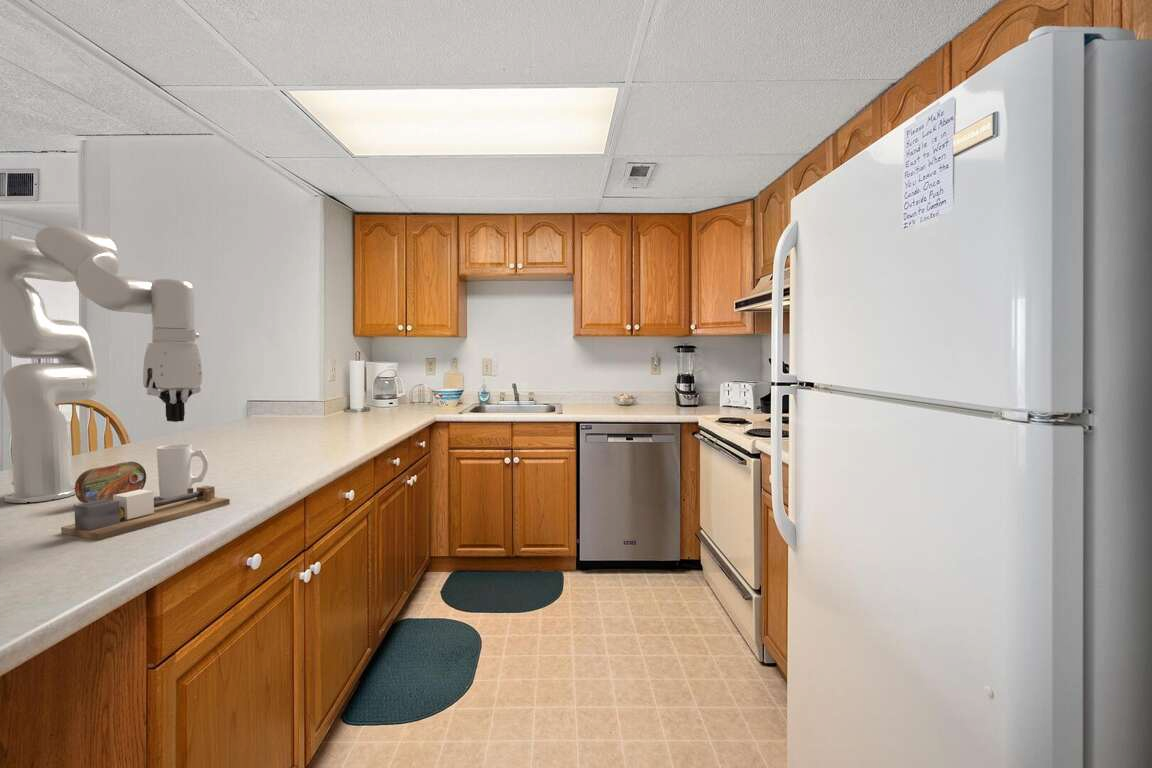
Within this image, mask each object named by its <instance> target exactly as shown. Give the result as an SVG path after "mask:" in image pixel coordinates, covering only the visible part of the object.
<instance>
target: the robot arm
mask: <svg viewBox="0 0 1152 768" xmlns="http://www.w3.org/2000/svg"><path fill="white" fill-rule="evenodd" d="M118 254H119V253H118V249H117V246H116V243H114V241H113V240H112V239H111V238H110V237H109V236H107V235H105V234H103V233H100V232H95V231H90V230H87V229H81V228H76V227H71V226H66V225H49V226H45V227H42V228H41V229H40V230H38V231H37V233H36V234H35V238H34V241H29V240H24V239H23V240H22V239H17V238H0V339H1V342H2V345H3V348H4V351H5V352H6V353H7V354H8V355H9V356H11V357H13V358H16V359H17V358H18V359H27V360H28V359H39V360H40V359H44V360H45V359H46V360H47V359H49V360H51V359H52V360H53V359H55V360H58V361H59V362H35V363H34V362H33V363H25V364H24V363H23V364H19V365H15V366H13V367H11V368H9V369H8V370H7V371H6V372H5V373H4V374H3V376H2V382H1V385H2V390H3V393H4V396H5V400H6V403H7V407H8V412H9V419H10V420H9V421H10V422H9V423H10V437H11V452H12V454H11V455H12V457H11V458H12V471H13V473H12V474H13V481H11V485H12V486H13V492H11V493H8V494H6V495H5V496H4V501H5V502H6V503H9V502H10V504H27V502H30V503H40V502H46V501H54V500H59V499H64V498H67V497H71V496H74V495H76V493H75V485H71V482H70V478H71V477H70V459H69V458H70V457H69V454H70V453H69V438H68V437H69V436H68V435H69V434H68V423H67V422H68V421H67V419H66V417H65V415H64V413H63V412H62V411H61V410H60V409H59V408H58V407H57V405H56V404H57V403H69V402H79V401H80V402H81V401H87V400H89V399H92V398H94V397H95V396H96V395H97V393H98V391H99V390H100V374H99V370H98V364H97V361H96V356H95V353H94V348H93V343H92V341H91V337H90V335H89V333H88V332H87V330H86V329H85V328H84V326H83V325H81V324H79V323H77V322H75V321H71V320H68V319H67V320H65V319H51V318H50V317H49V315H48V314H47V310H46V306H45V305H46V304H45V301H44V299H43V297H42V296H41V294H40V293H39V292H38V291H37V290H36V289H35V288H34V287H33V286H32V285H31V284H30V283H28V282H27V281H26V280H25V279H35V280H44V281H52V282H59V283H60V282H61V283H71V282H73V283H74V282H75V284H76V287H77V289H78V291H79V292H80V294H81V295H83V296H84V297H85V298H86V299H88V300H89V301H92V302H93V303H94V304H96V305H98V306H100V307H101V308H104V309H105V310H109V311H112V312H113V311H114V312H121V313H132V314H133V313H135V314H136V313H137V314H144V315H145V314H147V315H151V342H150V343H149V342H148V343H147V344H146V349H145V353H144V360H143V369H142V372H143V373H142V384H143V387H144V388H145V389H147V391H146V394H147V395H148V396H151V397H152V396H153V397H158V398H159V400H161V402H162V403H164V404H165V417H166V421H167V422H174V423H176V422H177V423H178V422H184V421H185V414H186V413H185V411H186V409H185V403H186V404H187V402H188V400H189V398H190V397H191V396H192V395H195V394H197V393H200V392H201V385H202V383H203V369H202V368H203V366H202V358H201V354H200V349H199V345H198V344H197V343H196V339H197V340H198V339H199V337H200V334H199V333H198V332H196V330H195V290H194V286H193V284H192V283H191V282H189V281H185V280H181V279H172V278H171V279H170V278H169V279H168V278H159V279H153V280H152V279H146V278H140V277H139V278H138V277H132V276H125V275H118V273H119V269H120V261H119V259H118ZM53 499H54V500H53Z"/></svg>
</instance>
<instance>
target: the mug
mask: <svg viewBox="0 0 1152 768" xmlns="http://www.w3.org/2000/svg"><path fill="white" fill-rule="evenodd" d="M192 446H193V445H192V444H189V443H183V444H182V443H180V444H166V445H160V446H157V447H156V458H157V459H156V461H157V475H158V490H159V498H160V499H161V500H164V499H168V498H172V497H177V496H181V495H185V494H187V489H188V488H193V487H192V486H193V484H195V483H202V482H203V481H204V479H205V477H206V474H207V473H208V469H209V460H208V458H207V456H206V454H205V451H204V450H203V448H202V449H196V450H195V451H193V450H192ZM194 457H199V458H200V459H201V461H202V465H203V466H202V470H201V473H200V474H199V475H197V476H193V474H192V473H193V472H192V471H193V470H192V464H193V463H192V458H194Z"/></svg>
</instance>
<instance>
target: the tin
mask: <svg viewBox="0 0 1152 768" xmlns="http://www.w3.org/2000/svg"><path fill="white" fill-rule="evenodd" d="M146 472H147V471H146V470H145V468H144V466H142V464H140V463H139V462H137V461H127V462H126V461H123V462H119V463H113V464H109V465H104V466H99V467H96V468H91V469H88V470H85V471H83V472H82V473H81V474H80V475H79V476H78V477H77V478H76V481H75V483H74V486H75V493H76V494H75V496H76V499H78V500H79V502H81V504H83V503H88V502H92V501H97V500H101V499H109V500H113V495H116V494H121V493H126V492H130V491H135V490H140V489H141V490H144V488H145V485H146V481H147V473H146Z"/></svg>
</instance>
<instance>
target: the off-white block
mask: <svg viewBox="0 0 1152 768" xmlns="http://www.w3.org/2000/svg"><path fill="white" fill-rule="evenodd" d="M154 497H155V496H154V490H147V489H142V490H141V489H140V490H135V491H130V492H126V493H121V494H116V495H113V500H116V501H119V507H121V508H122V509H124V512H125V515H124V516H125V519H127V520H128V519H131V518H135V517H139V516H143V515H147V514H151V513H154V502H155V501H154V499H155V498H154Z"/></svg>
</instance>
